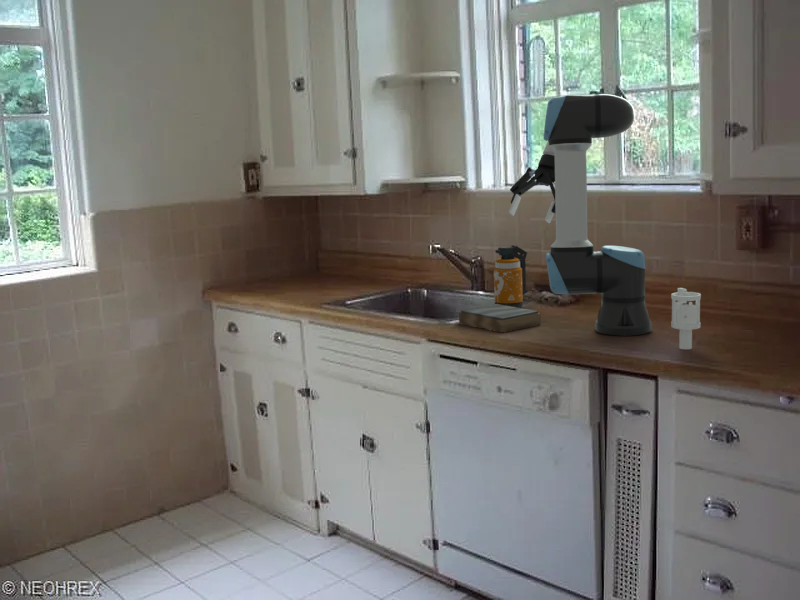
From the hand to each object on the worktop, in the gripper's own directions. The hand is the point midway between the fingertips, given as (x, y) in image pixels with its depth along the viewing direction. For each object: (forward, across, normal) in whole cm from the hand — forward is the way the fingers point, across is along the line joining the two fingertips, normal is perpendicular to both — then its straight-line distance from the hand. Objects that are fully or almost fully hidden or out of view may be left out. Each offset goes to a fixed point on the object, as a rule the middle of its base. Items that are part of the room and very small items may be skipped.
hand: (529, 217), depth 296 cm
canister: (+28, -2, -8) cm, 29 cm away
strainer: (+32, -70, +20) cm, 80 cm away
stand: (+38, -13, +13) cm, 43 cm away
